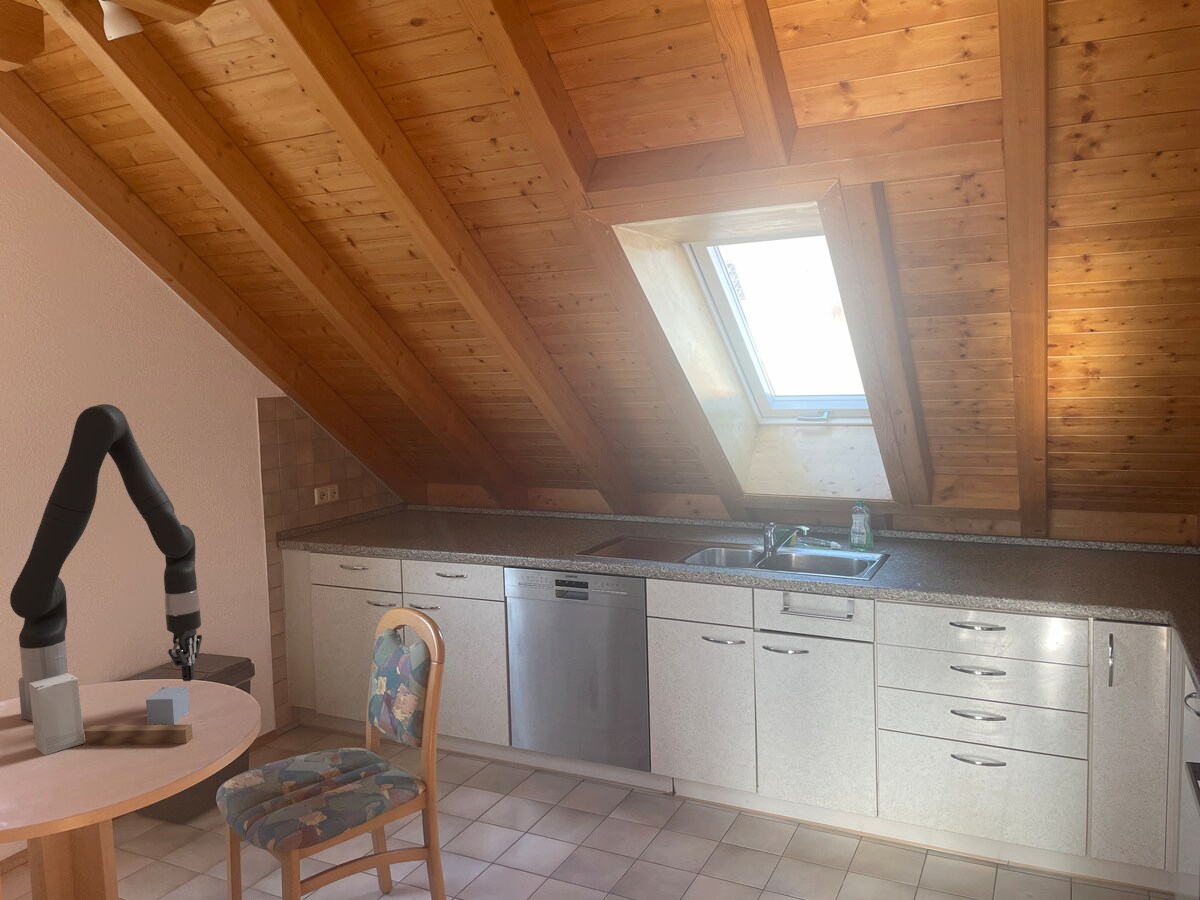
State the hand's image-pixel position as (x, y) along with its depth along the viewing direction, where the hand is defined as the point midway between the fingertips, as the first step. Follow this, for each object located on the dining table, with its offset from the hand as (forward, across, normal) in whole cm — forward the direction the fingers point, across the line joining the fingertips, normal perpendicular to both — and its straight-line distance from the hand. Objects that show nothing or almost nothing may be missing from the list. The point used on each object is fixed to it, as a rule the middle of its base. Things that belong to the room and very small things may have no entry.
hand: (188, 680), depth 230 cm
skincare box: (+5, +26, -16) cm, 31 cm away
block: (+6, +10, 0) cm, 11 cm away
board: (+5, +24, 0) cm, 24 cm away
